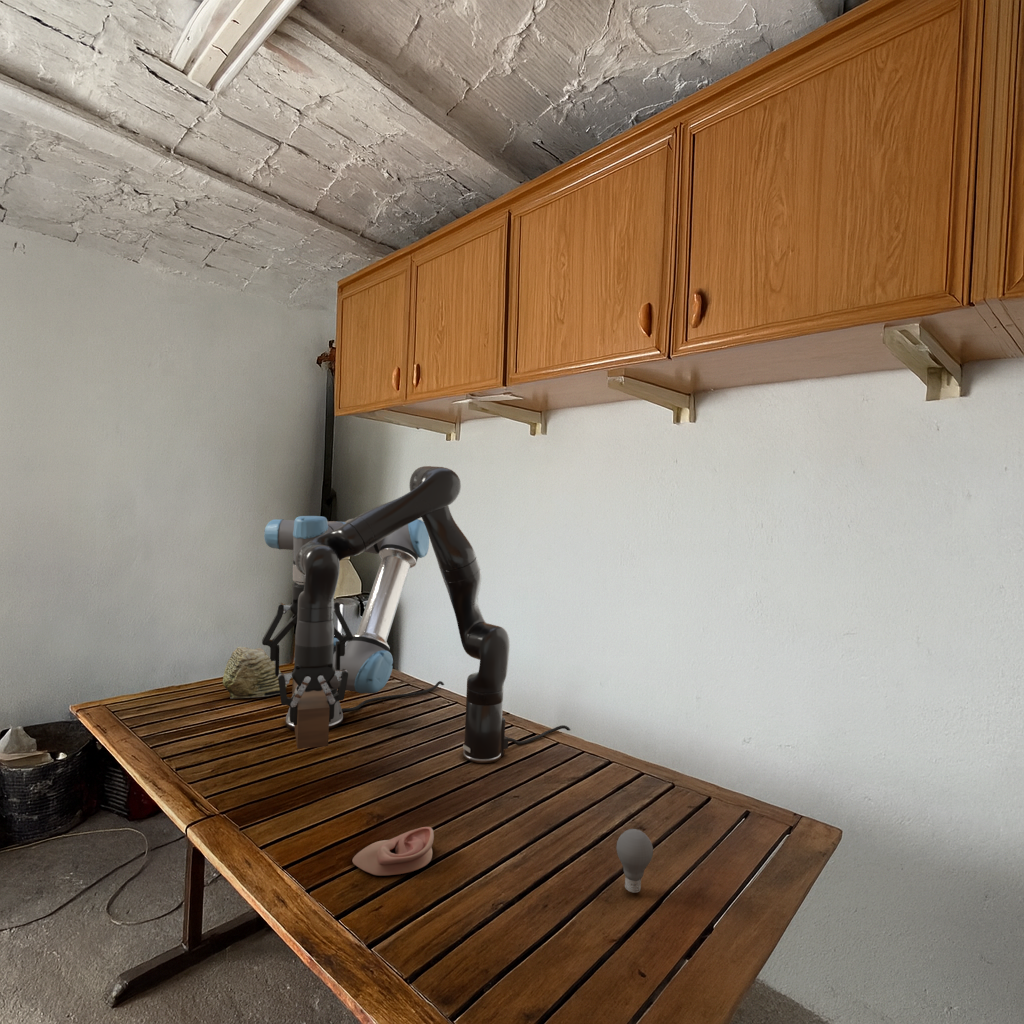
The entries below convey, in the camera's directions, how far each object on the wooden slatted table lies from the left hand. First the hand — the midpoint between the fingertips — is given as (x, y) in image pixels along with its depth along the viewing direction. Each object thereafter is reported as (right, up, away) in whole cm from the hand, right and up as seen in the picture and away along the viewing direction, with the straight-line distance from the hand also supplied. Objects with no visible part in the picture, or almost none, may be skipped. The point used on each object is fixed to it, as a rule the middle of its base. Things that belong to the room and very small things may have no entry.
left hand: (307, 671), depth 149 cm
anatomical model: (+27, -24, -37) cm, 52 cm away
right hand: (+7, -5, -19) cm, 21 cm away
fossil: (-33, -20, +49) cm, 62 cm away
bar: (+4, -9, -12) cm, 15 cm away
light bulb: (+68, -26, -43) cm, 85 cm away
